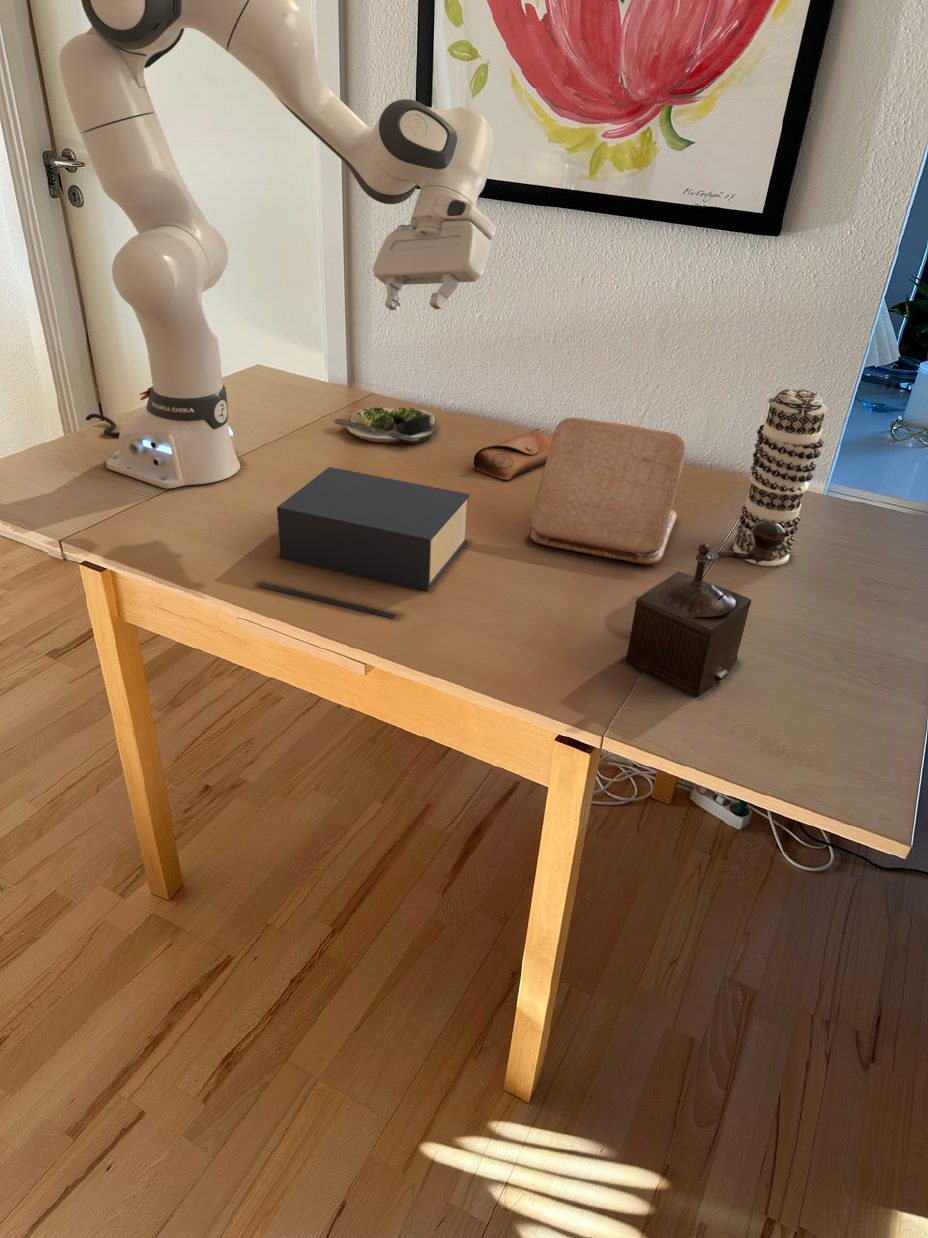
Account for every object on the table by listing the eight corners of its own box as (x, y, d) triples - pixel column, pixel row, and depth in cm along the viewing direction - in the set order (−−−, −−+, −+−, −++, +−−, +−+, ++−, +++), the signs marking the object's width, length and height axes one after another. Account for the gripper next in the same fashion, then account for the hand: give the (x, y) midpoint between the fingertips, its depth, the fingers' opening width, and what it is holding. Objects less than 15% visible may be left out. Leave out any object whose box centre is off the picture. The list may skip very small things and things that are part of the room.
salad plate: (327, 444, 168) (326, 420, 165) (342, 412, 183) (341, 389, 180) (430, 451, 167) (431, 427, 165) (437, 418, 183) (438, 395, 180)
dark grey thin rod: (258, 586, 123) (258, 585, 123) (262, 583, 124) (262, 582, 124) (393, 618, 118) (393, 618, 118) (396, 615, 119) (396, 614, 119)
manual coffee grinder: (702, 701, 106) (734, 567, 96) (622, 662, 112) (645, 532, 102) (761, 648, 116) (795, 522, 107) (685, 615, 122) (711, 493, 112)
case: (523, 545, 137) (532, 445, 129) (559, 493, 154) (569, 402, 146) (656, 573, 132) (675, 471, 123) (678, 516, 149) (696, 423, 140)
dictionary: (280, 557, 130) (276, 507, 126) (330, 513, 143) (329, 466, 139) (428, 591, 124) (429, 539, 120) (466, 542, 137) (469, 493, 133)
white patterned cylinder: (763, 572, 134) (805, 409, 120) (717, 546, 140) (753, 388, 127) (804, 559, 138) (850, 400, 125) (758, 534, 144) (797, 380, 131)
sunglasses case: (509, 480, 156) (496, 443, 155) (481, 488, 162) (469, 453, 160) (569, 454, 168) (558, 419, 167) (542, 462, 173) (530, 429, 172)
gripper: (380, 214, 139) (352, 298, 139) (479, 203, 126) (449, 295, 125) (406, 237, 144) (379, 318, 143) (505, 228, 131) (476, 317, 130)
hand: (413, 307), depth 134 cm, fingers open, 8 cm apart
